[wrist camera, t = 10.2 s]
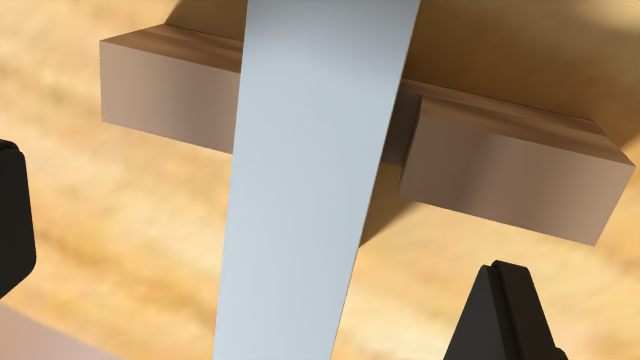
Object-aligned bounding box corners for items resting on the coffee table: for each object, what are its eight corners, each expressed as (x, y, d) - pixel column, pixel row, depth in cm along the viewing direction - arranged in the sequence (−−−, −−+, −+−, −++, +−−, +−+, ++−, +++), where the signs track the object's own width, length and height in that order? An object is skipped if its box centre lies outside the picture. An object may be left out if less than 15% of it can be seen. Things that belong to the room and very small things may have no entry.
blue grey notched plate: (298, 232, 24) (205, 425, 14) (356, -88, 18) (261, -137, 8) (358, 248, 24) (304, 457, 14) (438, -73, 17) (445, -104, 8)
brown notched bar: (161, 90, 22) (101, 121, 18) (163, 23, 21) (99, 40, 17) (563, 188, 20) (594, 246, 16) (593, 121, 19) (636, 166, 15)
